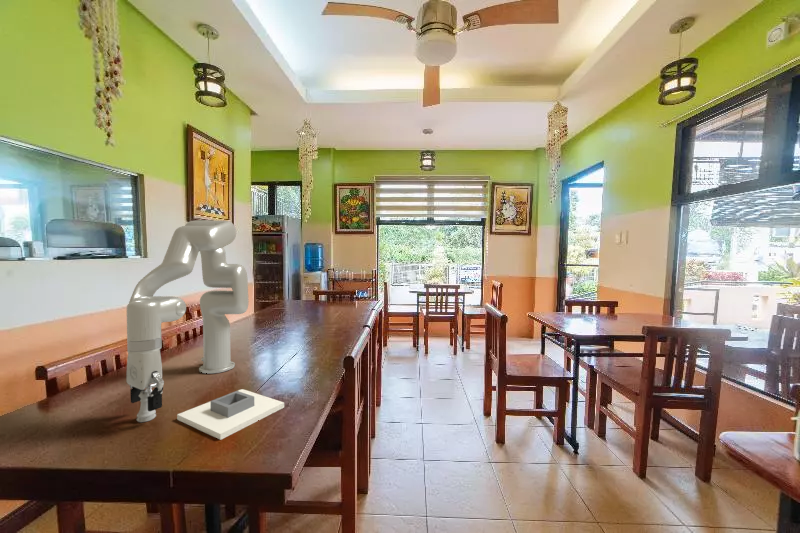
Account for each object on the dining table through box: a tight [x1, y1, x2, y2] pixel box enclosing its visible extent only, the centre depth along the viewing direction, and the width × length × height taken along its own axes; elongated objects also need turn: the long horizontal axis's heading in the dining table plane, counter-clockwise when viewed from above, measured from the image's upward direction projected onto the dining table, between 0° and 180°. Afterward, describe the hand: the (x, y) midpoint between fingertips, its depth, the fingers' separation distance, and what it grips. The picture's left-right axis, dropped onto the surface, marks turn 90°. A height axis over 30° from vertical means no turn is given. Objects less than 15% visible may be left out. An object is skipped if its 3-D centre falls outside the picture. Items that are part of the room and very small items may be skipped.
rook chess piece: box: [136, 388, 157, 423], centre depth 91 cm, size 4×4×8 cm
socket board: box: [176, 388, 285, 441], centre depth 95 cm, size 20×20×4 cm
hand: (146, 405), depth 91 cm, fingers open, 9 cm apart
